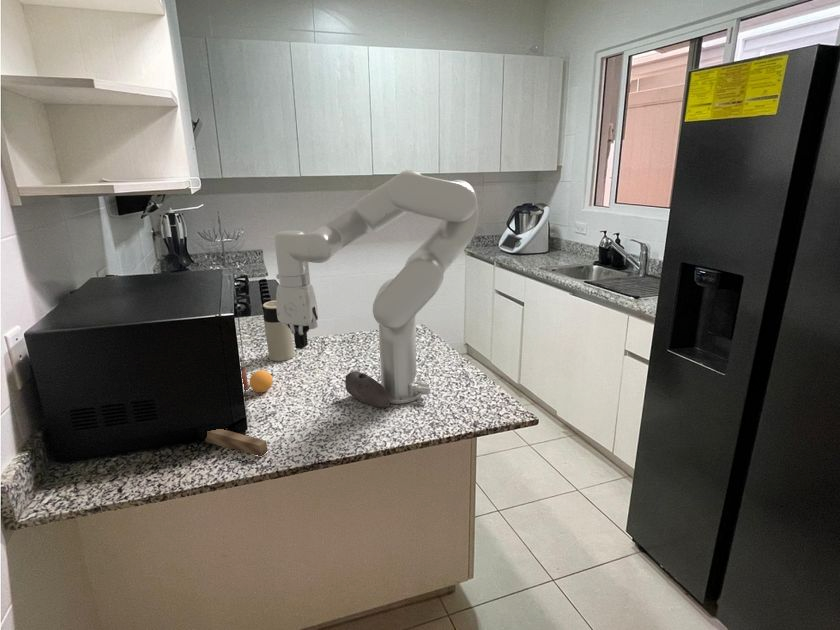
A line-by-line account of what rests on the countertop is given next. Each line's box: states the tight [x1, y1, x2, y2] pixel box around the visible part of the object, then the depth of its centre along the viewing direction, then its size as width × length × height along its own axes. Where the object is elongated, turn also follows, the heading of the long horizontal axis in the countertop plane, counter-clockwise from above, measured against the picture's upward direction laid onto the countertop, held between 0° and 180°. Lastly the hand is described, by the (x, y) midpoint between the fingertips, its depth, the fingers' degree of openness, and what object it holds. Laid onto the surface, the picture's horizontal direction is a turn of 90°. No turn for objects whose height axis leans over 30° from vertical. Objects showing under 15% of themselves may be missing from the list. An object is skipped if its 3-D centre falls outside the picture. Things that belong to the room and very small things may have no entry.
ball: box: [249, 369, 274, 393], centre depth 133 cm, size 6×6×6 cm
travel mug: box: [262, 299, 295, 362], centre depth 153 cm, size 8×8×18 cm
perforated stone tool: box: [344, 370, 391, 409], centre depth 126 cm, size 15×5×7 cm, turn 46°
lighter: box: [239, 356, 250, 392], centre depth 135 cm, size 8×3×10 cm, turn 62°
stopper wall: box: [204, 429, 269, 456], centre depth 109 cm, size 18×2×3 cm, turn 66°
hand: (301, 346), depth 129 cm, fingers closed
